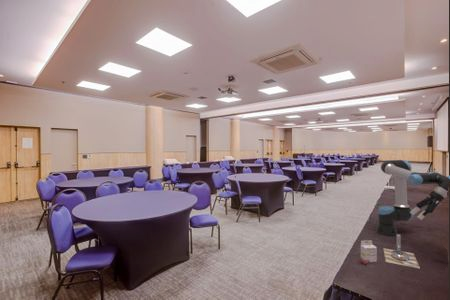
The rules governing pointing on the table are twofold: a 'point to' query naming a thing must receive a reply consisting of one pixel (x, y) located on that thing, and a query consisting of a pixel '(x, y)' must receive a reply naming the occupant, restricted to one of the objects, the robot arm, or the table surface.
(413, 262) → the level stand
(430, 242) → the table surface
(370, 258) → the ink cartridge box
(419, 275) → the table surface
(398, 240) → the cam capstan
